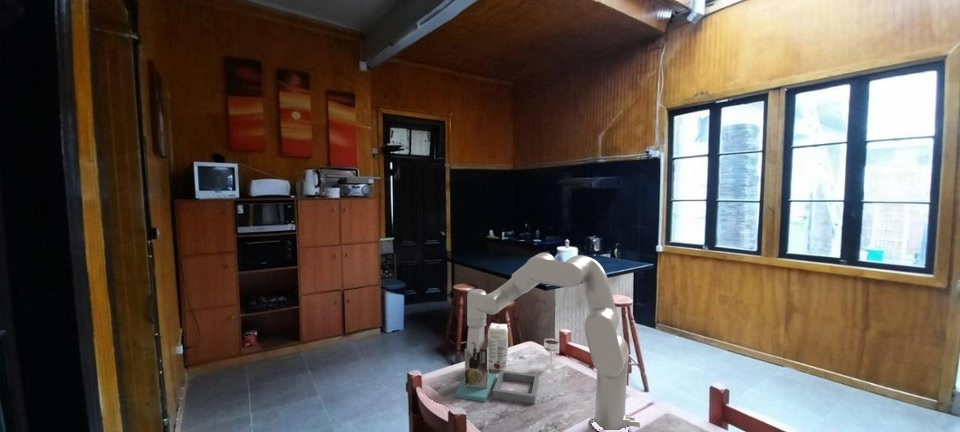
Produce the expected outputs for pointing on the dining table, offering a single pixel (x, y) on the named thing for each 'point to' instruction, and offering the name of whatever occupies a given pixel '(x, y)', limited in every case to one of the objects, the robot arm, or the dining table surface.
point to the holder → (512, 394)
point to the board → (475, 390)
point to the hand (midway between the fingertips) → (476, 362)
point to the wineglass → (551, 349)
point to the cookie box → (480, 374)
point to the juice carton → (498, 346)
